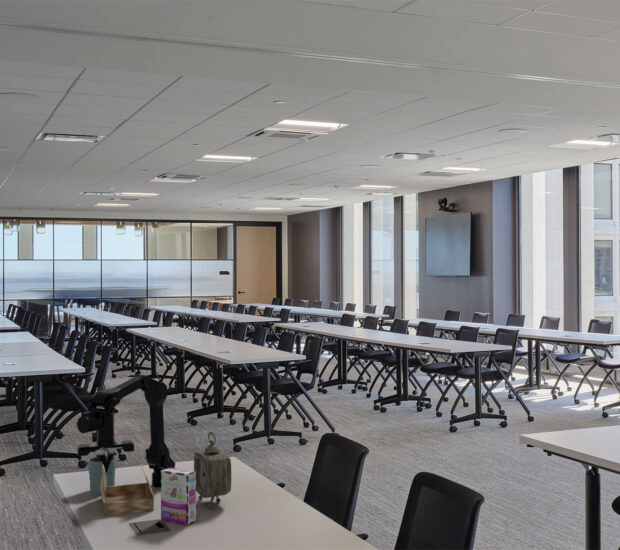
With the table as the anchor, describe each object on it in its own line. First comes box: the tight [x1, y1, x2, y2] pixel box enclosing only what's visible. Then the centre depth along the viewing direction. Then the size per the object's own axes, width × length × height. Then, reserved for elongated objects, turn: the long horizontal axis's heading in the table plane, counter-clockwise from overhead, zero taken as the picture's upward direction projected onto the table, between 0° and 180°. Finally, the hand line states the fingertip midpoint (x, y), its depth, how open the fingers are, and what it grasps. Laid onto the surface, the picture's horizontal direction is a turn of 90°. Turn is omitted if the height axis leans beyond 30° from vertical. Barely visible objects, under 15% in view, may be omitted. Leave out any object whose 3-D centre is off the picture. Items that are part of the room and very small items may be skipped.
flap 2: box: [139, 462, 156, 499], centre depth 260 cm, size 8×19×1 cm
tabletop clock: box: [193, 431, 232, 510], centre depth 258 cm, size 14×9×25 cm, turn 27°
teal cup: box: [87, 454, 117, 495], centre depth 273 cm, size 10×10×12 cm
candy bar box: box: [160, 467, 197, 526], centre depth 240 cm, size 11×5×16 cm, turn 62°
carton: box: [101, 482, 155, 516], centre depth 257 cm, size 16×20×4 cm
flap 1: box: [100, 466, 107, 504], centre depth 255 cm, size 8×19×1 cm
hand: (106, 473), depth 255 cm, fingers closed, pressing on flap 1
